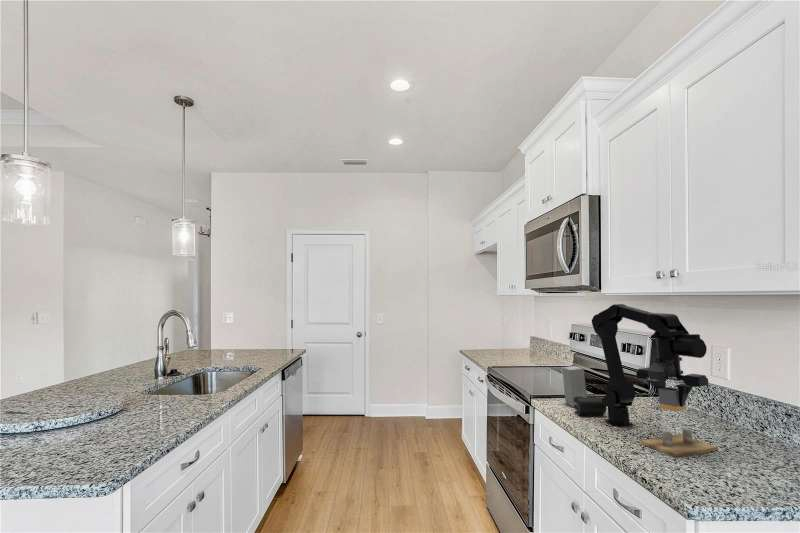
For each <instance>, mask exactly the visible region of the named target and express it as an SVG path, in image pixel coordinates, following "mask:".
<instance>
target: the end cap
mask: <svg viewBox="0 0 800 533" xmlns="http://www.w3.org/2000/svg"><path fill="white" fill-rule="evenodd" d="M602 399H603V397H601V396H600V397H598V396H595V395H593V396H588V397H587V398H583V397H574V402H576V403H577V406H576V405H574V407H573V408H574V410H575V412H574V414H576V415H578V416H604V415H605V414H606V413H607V411H608V407H607V406H604V405H603V402H602Z"/></svg>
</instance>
